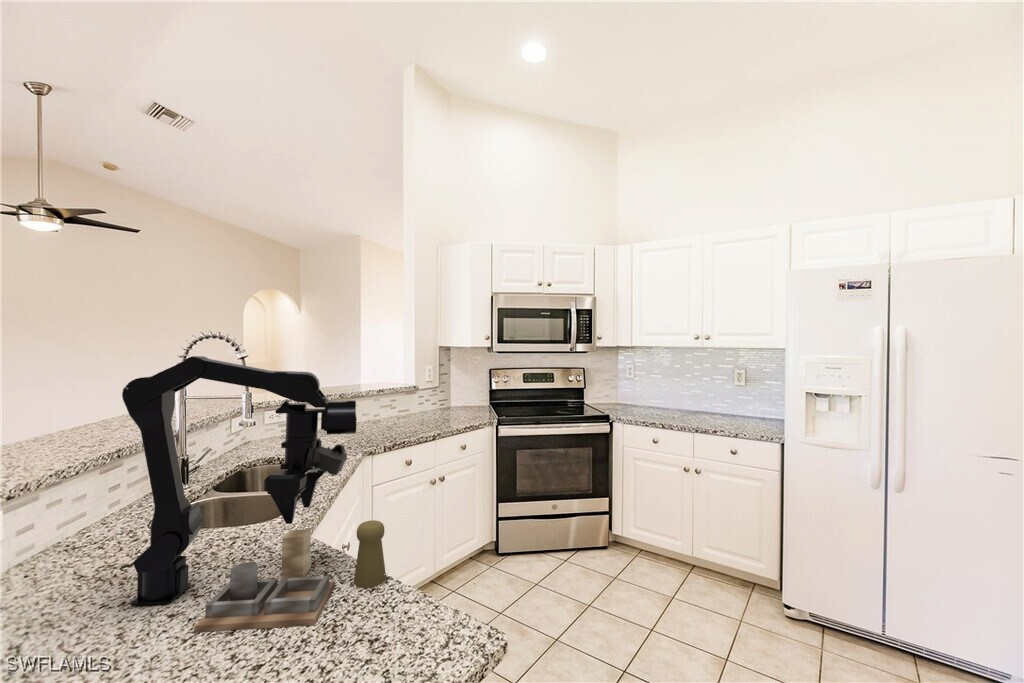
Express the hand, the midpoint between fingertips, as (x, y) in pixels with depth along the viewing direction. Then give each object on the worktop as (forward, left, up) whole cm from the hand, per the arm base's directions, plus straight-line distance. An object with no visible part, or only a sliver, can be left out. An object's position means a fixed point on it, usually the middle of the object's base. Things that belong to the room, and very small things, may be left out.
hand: (298, 515), depth 89 cm
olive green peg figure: (+14, -3, -12) cm, 19 cm away
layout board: (-1, -11, -12) cm, 16 cm away
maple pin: (-1, +1, -12) cm, 12 cm away
